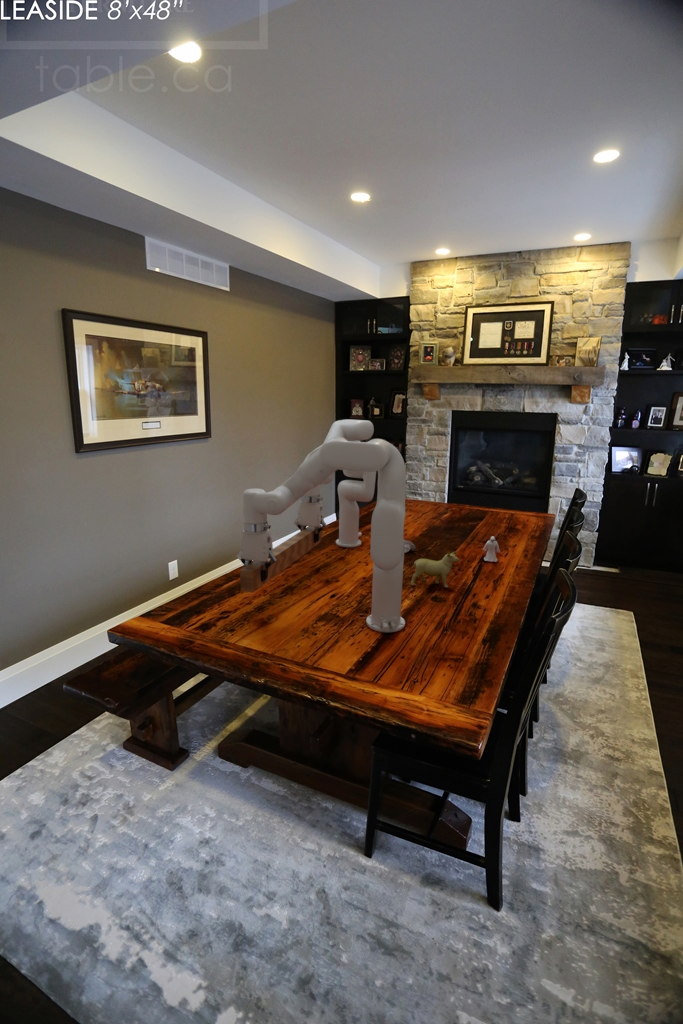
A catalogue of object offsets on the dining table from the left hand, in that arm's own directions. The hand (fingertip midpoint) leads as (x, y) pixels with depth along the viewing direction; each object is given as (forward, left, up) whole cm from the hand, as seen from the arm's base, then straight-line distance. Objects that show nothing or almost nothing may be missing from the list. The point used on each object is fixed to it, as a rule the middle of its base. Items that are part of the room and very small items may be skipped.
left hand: (310, 540), depth 209 cm
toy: (-10, +51, -12) cm, 54 cm away
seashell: (-43, +25, -12) cm, 51 cm away
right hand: (+44, +10, 0) cm, 46 cm away
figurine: (-53, +62, -12) cm, 82 cm away
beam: (+22, +5, -2) cm, 23 cm away
